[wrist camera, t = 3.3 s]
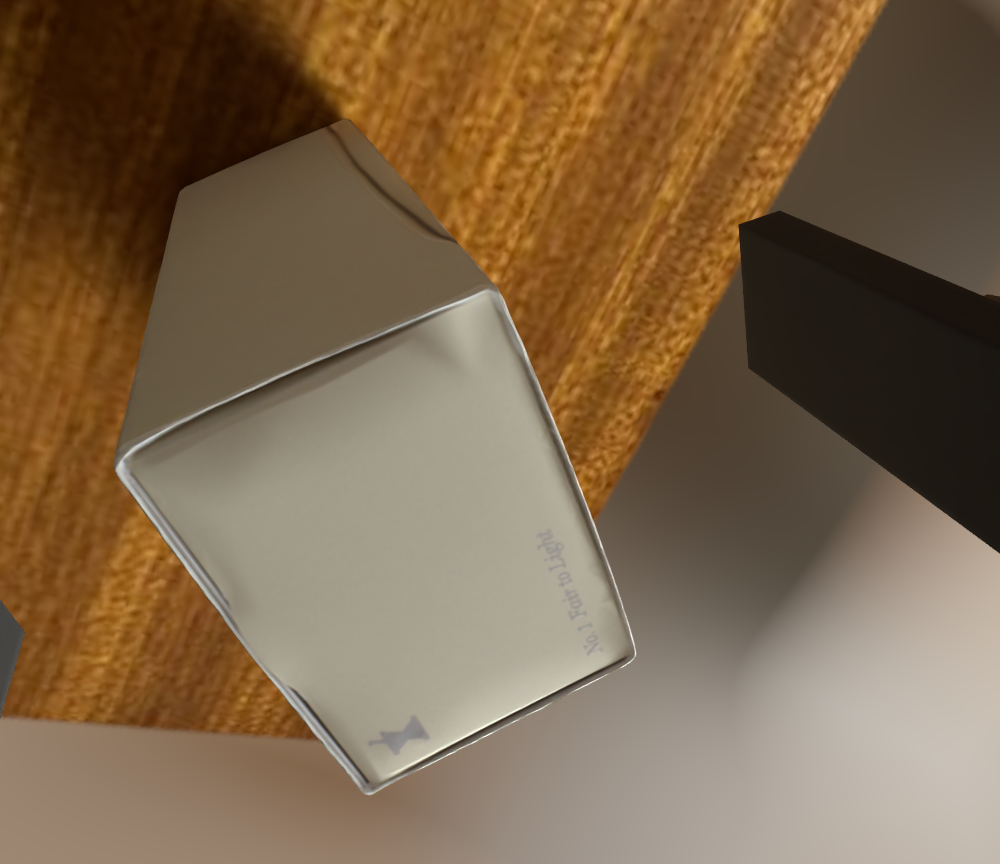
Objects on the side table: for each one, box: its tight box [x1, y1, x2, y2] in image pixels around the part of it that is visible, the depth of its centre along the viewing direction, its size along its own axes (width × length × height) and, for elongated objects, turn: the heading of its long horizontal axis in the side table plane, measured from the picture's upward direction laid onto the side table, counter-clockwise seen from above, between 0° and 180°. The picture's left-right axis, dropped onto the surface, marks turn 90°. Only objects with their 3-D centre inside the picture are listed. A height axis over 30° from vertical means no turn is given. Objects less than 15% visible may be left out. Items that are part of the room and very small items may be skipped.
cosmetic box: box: [113, 119, 636, 795], centre depth 15 cm, size 6×4×12 cm
